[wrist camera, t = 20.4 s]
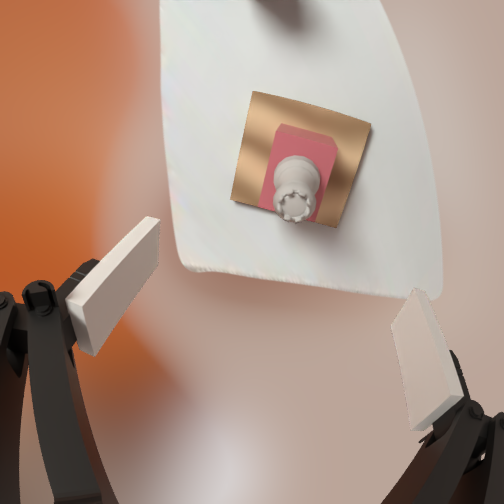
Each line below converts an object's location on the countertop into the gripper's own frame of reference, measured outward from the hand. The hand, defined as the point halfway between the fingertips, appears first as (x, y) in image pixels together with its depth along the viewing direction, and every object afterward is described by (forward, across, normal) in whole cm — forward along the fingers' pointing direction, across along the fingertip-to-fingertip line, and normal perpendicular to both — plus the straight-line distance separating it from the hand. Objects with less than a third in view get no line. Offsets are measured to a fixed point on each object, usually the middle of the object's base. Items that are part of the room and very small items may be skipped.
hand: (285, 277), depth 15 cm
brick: (+24, 0, 0) cm, 24 cm away
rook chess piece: (+17, 0, 0) cm, 17 cm away
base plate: (+25, 0, 0) cm, 25 cm away
